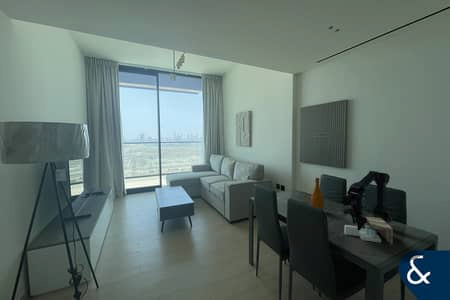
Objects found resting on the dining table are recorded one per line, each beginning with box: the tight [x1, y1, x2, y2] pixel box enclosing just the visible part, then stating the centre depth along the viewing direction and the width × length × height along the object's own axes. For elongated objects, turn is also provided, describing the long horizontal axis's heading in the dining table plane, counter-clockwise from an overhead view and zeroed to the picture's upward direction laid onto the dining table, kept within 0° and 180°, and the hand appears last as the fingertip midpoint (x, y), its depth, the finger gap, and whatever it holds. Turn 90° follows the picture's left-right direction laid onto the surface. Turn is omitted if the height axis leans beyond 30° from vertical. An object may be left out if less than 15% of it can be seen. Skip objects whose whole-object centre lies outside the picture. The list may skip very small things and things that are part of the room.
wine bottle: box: [310, 177, 324, 211], centre depth 167 cm, size 10×10×30 cm
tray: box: [343, 224, 382, 243], centre depth 126 cm, size 12×18×6 cm, turn 71°
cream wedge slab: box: [364, 216, 394, 246], centre depth 123 cm, size 16×9×10 cm, turn 161°
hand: (356, 226), depth 126 cm, fingers open, 9 cm apart
